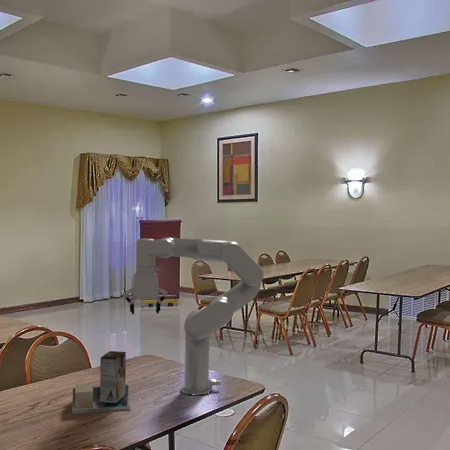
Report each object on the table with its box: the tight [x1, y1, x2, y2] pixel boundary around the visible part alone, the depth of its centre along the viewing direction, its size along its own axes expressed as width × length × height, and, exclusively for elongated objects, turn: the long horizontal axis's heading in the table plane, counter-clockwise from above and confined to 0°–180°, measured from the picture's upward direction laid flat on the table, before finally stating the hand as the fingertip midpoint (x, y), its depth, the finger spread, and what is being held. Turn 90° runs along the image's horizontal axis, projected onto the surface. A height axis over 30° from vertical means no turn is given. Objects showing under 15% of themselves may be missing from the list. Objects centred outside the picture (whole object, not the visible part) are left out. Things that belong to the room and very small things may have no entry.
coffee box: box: [99, 350, 127, 403], centre depth 195 cm, size 9×6×16 cm
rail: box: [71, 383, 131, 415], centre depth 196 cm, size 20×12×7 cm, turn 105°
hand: (145, 313), depth 213 cm, fingers open, 9 cm apart
